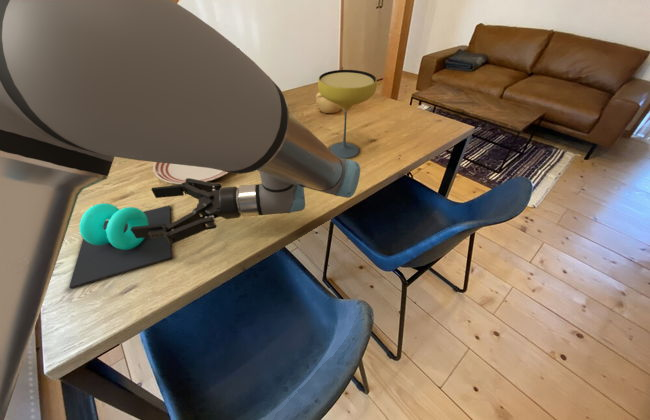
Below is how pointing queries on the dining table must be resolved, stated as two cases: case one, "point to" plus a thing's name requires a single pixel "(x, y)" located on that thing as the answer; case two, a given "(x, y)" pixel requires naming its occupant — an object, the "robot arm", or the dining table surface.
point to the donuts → (112, 225)
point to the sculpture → (326, 104)
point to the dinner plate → (184, 173)
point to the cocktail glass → (346, 98)
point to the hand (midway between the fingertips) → (144, 211)
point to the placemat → (121, 253)
